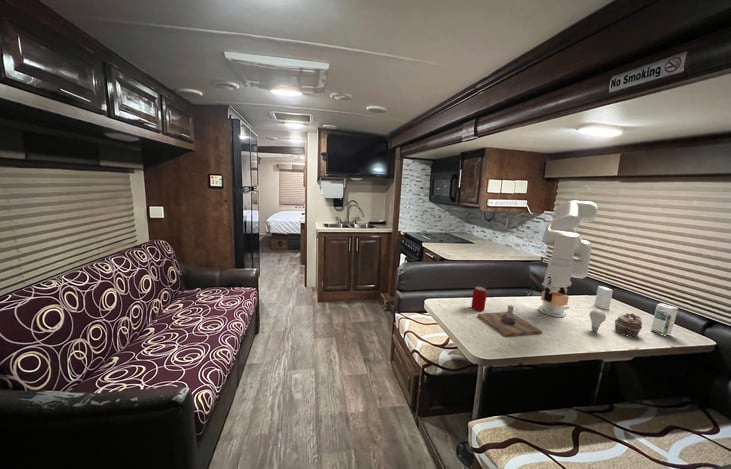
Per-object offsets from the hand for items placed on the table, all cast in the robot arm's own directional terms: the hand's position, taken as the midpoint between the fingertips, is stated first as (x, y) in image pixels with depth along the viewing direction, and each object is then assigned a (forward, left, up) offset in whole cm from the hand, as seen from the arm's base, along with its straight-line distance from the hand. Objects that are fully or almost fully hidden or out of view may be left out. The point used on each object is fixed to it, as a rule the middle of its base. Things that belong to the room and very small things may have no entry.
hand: (554, 300), depth 126 cm
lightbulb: (-30, -1, -18) cm, 35 cm away
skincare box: (-67, -24, -18) cm, 73 cm away
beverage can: (+14, -31, -18) cm, 38 cm away
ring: (0, 0, -1) cm, 1 cm away
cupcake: (-45, +3, -18) cm, 48 cm away
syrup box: (-64, +6, -18) cm, 66 cm away
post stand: (+10, -13, -18) cm, 24 cm away
